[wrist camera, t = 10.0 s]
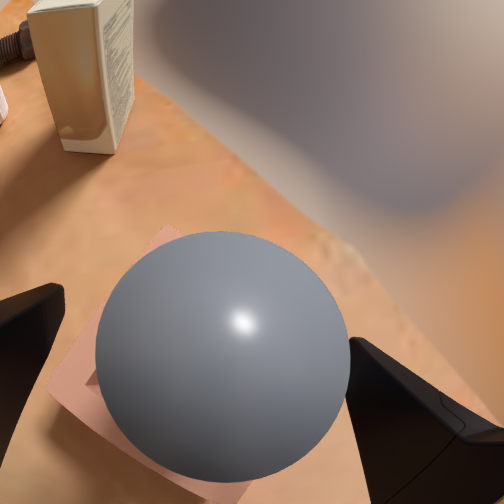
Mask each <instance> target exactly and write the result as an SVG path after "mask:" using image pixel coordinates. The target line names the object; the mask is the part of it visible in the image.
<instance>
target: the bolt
mask: <svg viewBox="0 0 504 504" xmlns="http://www.w3.org/2000/svg"><path fill="white" fill-rule="evenodd" d="M21 55H23V57H24V60H30V59H32V58H35V57H36V56H35V52H34V48H33V43H32V39H31V35H30V30H29V24H28V20H26V21H23V22H22V23H21V24H20V26H19V31H18V32H17V33H16V32H15V33H14V34H13V33H12V35H9V36H6V37H4V38H1V40H0V65H2V63H3V64H4V63H5V62H6V63H7V62H8V61H10V60H13V58H14V59H16V57H17V58H18V57H19V56H20V57H21Z"/></svg>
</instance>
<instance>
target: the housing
mask: <svg viewBox="0 0 504 504" xmlns="http://www.w3.org/2000/svg"><path fill="white" fill-rule="evenodd" d="M181 237H184V235H183V234H181V233H180V232H178V231H177V230H175V229H174V228H173V227H171V226H170V225H168V224H167V223H166V224H165V226H164V227H163V228H162V229H161V230H160V232H159V233H158V234H157V235H156V236H155V237H154V239H153V240H152V241H151V242H150V244H149V245H148V246H147V247H146V248H145V250H144V251H143V252H142V253H141V255H140V256H139V257H138V258H137V259H136V261H135V262H134V263H133V264H132V266H133V265H134V264H135V263H136V262H138V261H139V260H140V259H141V258H142V257H144V256H145V255H146V254H148V253H149V252H151V251H153V250H154V249H156V248H157V247H159V246H161V245H163V244H165V243H168V242H170V241H172V240H174V239H178V238H181ZM132 266H131V267H132ZM131 267H130V268H131ZM130 268H129V269H130ZM114 288H115V287H114ZM112 291H113V290H112ZM112 291H111V293H112ZM111 293H110V294H109V295H108V297H107V298H106V299H105V301H104V302H103V303H102V305H101V306H100V307H99V309H98V310H97V311H96V313H95V314H94V315H93V317H92V318H91V320H90V321H89V322H88V324H87V325H86V326H85V328H84V329H83V331H82V332H81V333H80V335H79V336H78V338H77V339H76V341H75V342H74V343H73V345H72V346H71V348H70V349H69V351H68V352H67V354H66V355H65V356H64V358H63V359H62V361H61V362H60V364H59V365H58V367H57V368H56V370H55V371H54V373H53V374H52V376H51V378H50V379H49V381H48V382H47V384H46V385H45V387H44V389H45V390H46V391H47V392H48V393H49V394H50V395H52V396H53V397H54V398H55V399H56V400H57V401H58V402H59V403H61V404H62V405H63V406H64V407H65V408H66V409H68V410H69V411H70V412H71V413H72V414H74V415H75V416H76V417H77V418H78V419H80V420H81V421H82V422H83V423H85V424H86V425H87V426H88V427H90V428H91V429H92V430H94V431H95V432H96V433H98V434H99V435H100V436H102V437H103V438H104V439H106V440H107V441H109V442H110V443H111V444H113V445H114V446H116V447H117V448H119V449H120V450H121V451H123V452H124V453H126V454H127V455H129V456H130V457H132V458H133V459H135V460H137V461H138V462H140V463H141V464H143V465H144V466H146V467H148V468H149V469H151V470H153V471H154V472H156V473H158V474H159V475H161V476H163V477H165V478H166V479H168V480H170V481H172V482H174V483H175V484H177V485H179V486H181V487H183V488H185V489H187V490H188V491H190V492H192V493H194V494H196V495H198V496H200V497H202V498H204V499H207V500H209V501H211V502H213V503H215V504H236V503H237V502H238V501H239V499H240V498H241V496H242V495H243V494H244V492H245V491H246V489H247V488H248V486H249V485H250V484H251V482H252V481H253V480H250V481H245V482H234V483H218V482H207V481H202V480H197V479H192V478H189V477H186V476H183V475H180V474H177V473H175V472H172V471H170V470H168V469H167V468H165V467H163V466H161V465H159V464H157V463H156V462H154V461H153V460H151V459H150V458H149V457H147V456H146V455H144V454H143V453H142V452H141V451H140V450H139V449H137V448H136V447H135V446H134V445H133V444H132V443H131V442H130V441H129V440H128V439H127V437H126V436H125V435H124V434H123V432H122V431H121V430H120V429H119V427H118V426H117V424H116V423H115V421H114V419H113V418H112V416H111V414H110V412H109V411H108V409H107V406H106V404H105V401H104V399H103V396H102V394H101V390H100V386H99V382H98V378H97V373H96V363H95V345H96V336H97V330H98V325H99V321H100V318H101V315H102V312H103V309H104V307H105V305H106V303H107V301H108V299H109V297H110V295H111Z"/></svg>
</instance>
